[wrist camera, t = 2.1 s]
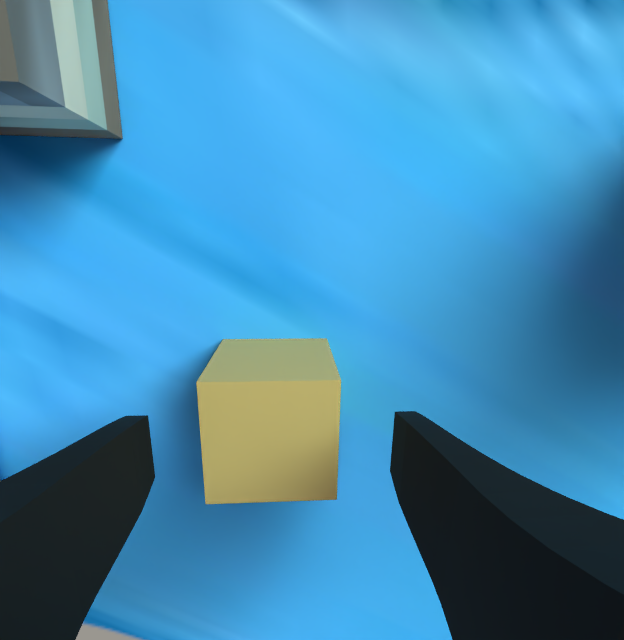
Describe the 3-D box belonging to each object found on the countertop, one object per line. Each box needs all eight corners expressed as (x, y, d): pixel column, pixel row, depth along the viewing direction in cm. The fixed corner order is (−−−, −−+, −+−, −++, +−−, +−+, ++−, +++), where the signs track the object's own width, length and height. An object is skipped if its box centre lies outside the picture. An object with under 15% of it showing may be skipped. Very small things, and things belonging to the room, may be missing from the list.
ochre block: (228, 430, 14) (205, 503, 11) (223, 338, 13) (196, 382, 10) (324, 428, 15) (336, 499, 11) (326, 337, 14) (341, 379, 10)
